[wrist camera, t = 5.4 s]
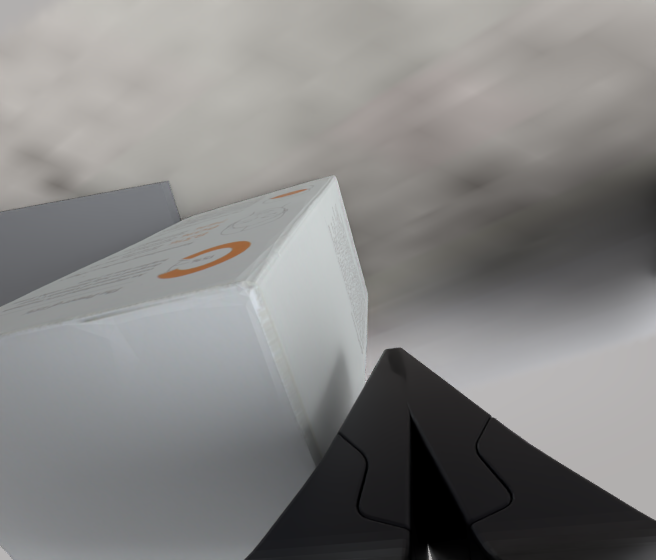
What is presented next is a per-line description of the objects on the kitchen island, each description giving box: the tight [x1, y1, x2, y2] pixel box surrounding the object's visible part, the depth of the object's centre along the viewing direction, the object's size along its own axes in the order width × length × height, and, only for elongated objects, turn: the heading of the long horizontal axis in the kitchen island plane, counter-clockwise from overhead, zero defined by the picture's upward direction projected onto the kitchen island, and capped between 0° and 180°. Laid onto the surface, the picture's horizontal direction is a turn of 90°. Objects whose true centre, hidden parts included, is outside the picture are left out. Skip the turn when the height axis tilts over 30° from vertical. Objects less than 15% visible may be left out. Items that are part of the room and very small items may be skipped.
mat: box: [0, 181, 181, 307], centre depth 20 cm, size 15×11×1 cm
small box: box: [0, 175, 368, 560], centre depth 13 cm, size 8×6×13 cm
